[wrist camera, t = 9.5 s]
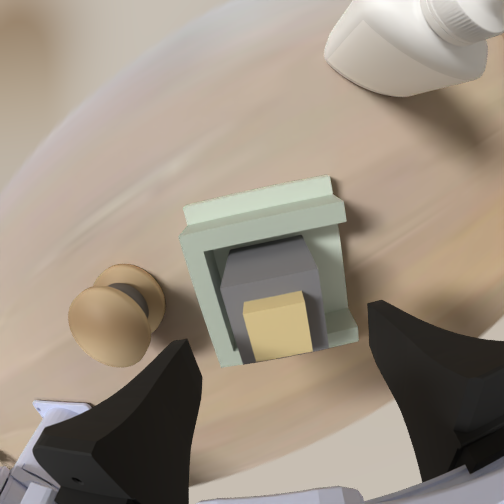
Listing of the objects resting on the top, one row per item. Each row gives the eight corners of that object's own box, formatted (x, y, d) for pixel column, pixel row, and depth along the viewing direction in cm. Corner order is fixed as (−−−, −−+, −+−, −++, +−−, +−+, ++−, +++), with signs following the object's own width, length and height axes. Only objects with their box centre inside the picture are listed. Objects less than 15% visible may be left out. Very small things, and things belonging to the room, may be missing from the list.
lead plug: (312, 298, 19) (333, 361, 13) (246, 312, 19) (242, 378, 13) (301, 234, 17) (322, 278, 12) (229, 249, 18) (217, 299, 12)
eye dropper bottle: (377, 122, 16) (536, 109, 5) (309, 48, 15) (386, -78, 3) (423, 82, 15) (578, 48, 4) (360, 11, 14) (464, -99, 2)
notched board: (347, 327, 20) (359, 354, 17) (229, 350, 21) (225, 379, 18) (326, 174, 17) (340, 180, 14) (186, 205, 18) (172, 216, 15)
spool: (175, 327, 20) (160, 364, 16) (113, 335, 21) (90, 369, 17) (151, 256, 19) (127, 283, 15) (86, 271, 19) (55, 298, 15)
